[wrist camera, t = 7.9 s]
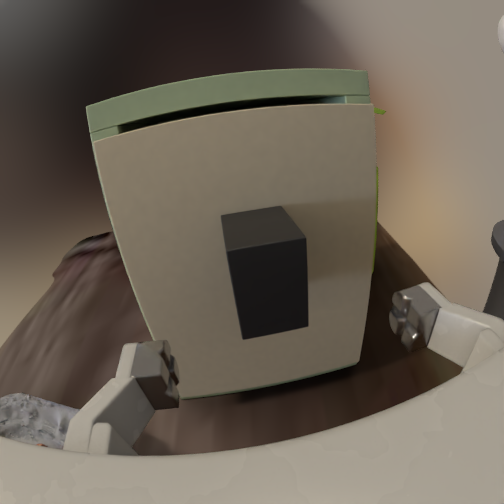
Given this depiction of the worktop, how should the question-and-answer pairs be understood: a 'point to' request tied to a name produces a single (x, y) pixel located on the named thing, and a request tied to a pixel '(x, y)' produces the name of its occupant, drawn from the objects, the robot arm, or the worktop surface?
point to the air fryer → (225, 109)
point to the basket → (249, 238)
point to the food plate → (34, 420)
